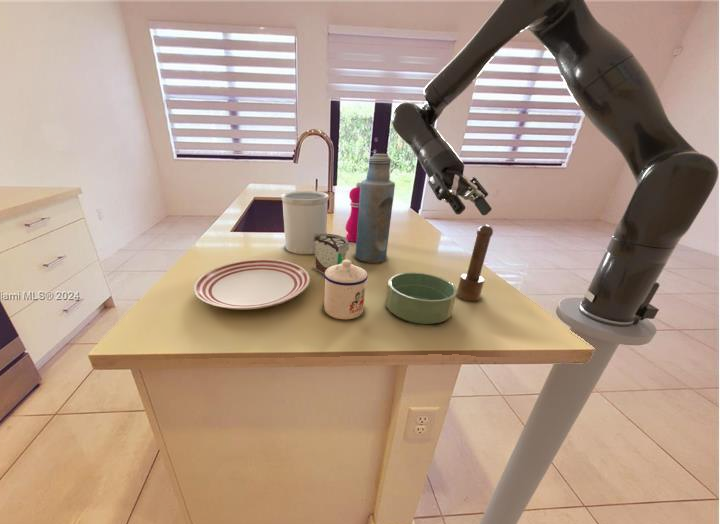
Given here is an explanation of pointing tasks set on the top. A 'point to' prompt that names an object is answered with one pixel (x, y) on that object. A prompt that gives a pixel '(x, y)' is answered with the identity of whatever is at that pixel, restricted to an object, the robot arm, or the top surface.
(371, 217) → the bottle
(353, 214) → the pepper mill
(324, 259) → the slice of cake
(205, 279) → the dinner plate
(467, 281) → the wooden pestle
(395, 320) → the top surface
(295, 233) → the utensil holder
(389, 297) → the bowl
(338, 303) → the teacup with lid
